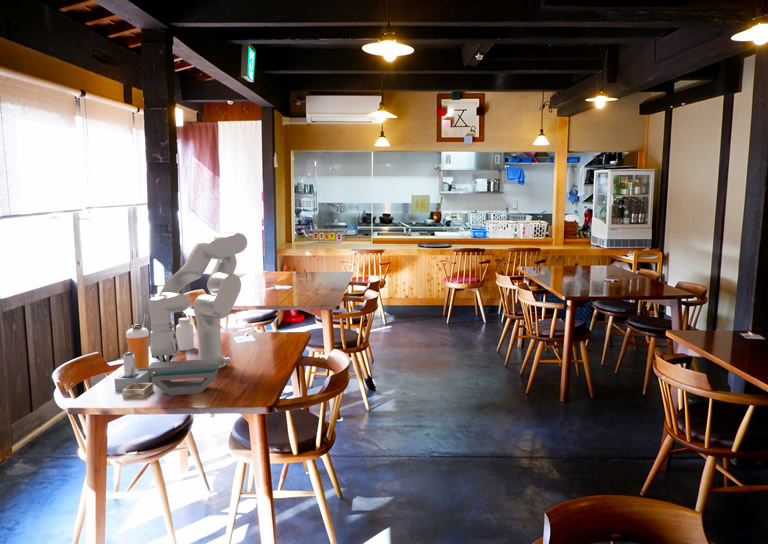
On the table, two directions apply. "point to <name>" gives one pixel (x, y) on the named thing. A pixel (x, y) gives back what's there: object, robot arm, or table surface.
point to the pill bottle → (185, 334)
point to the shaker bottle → (139, 345)
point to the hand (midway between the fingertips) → (167, 371)
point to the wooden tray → (137, 390)
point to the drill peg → (129, 365)
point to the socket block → (141, 377)
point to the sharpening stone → (184, 375)
